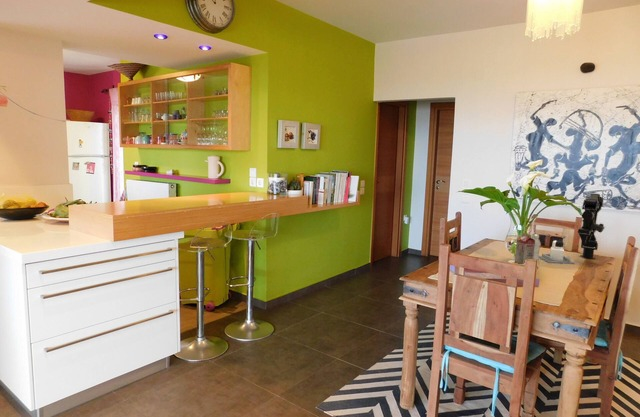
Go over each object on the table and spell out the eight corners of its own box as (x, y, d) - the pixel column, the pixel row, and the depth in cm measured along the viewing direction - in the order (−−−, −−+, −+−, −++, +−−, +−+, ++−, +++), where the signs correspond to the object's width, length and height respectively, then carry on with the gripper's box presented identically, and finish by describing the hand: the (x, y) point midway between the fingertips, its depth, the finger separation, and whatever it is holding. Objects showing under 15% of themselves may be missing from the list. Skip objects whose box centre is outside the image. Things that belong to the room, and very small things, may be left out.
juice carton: (522, 273, 242) (526, 235, 238) (513, 269, 248) (517, 232, 245) (531, 272, 243) (535, 234, 240) (523, 269, 250) (527, 232, 247)
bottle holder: (537, 257, 280) (538, 253, 279) (562, 258, 279) (563, 254, 279) (548, 263, 266) (548, 258, 265) (574, 264, 265) (575, 259, 265)
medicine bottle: (561, 258, 274) (564, 240, 272) (562, 261, 268) (565, 242, 266) (549, 257, 277) (551, 239, 275) (550, 259, 271) (552, 241, 269)
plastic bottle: (539, 268, 252) (543, 235, 249) (527, 267, 253) (531, 234, 250) (536, 266, 258) (540, 233, 255) (524, 265, 259) (528, 232, 256)
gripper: (600, 222, 252) (596, 247, 254) (607, 219, 265) (604, 243, 267) (579, 219, 260) (575, 244, 262) (587, 216, 273) (584, 240, 275)
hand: (585, 243), depth 266 cm, fingers open, 9 cm apart
